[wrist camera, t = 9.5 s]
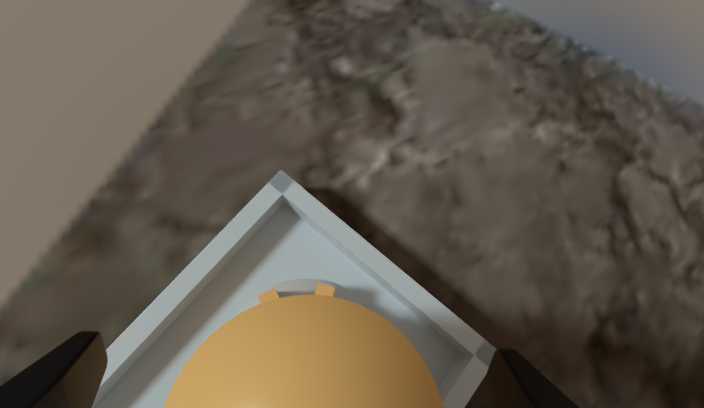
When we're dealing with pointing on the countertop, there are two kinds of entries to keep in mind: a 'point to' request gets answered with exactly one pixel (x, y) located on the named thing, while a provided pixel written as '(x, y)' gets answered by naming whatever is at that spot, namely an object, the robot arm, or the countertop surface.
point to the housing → (288, 279)
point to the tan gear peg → (305, 359)
